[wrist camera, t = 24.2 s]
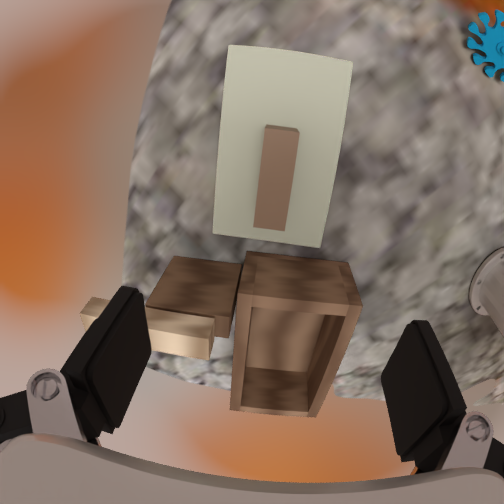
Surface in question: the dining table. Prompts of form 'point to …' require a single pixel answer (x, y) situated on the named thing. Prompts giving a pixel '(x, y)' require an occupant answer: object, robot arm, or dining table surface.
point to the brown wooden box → (271, 323)
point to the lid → (279, 143)
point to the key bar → (166, 330)
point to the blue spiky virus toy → (489, 43)
